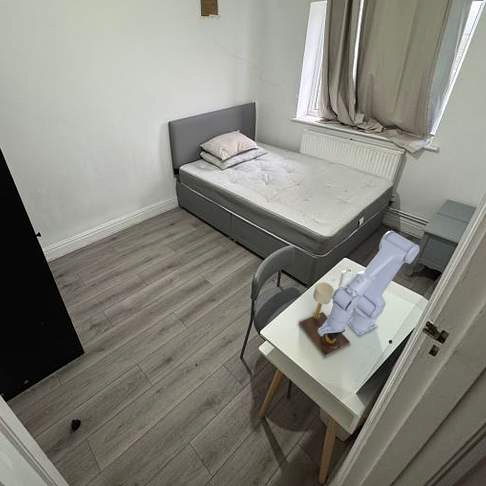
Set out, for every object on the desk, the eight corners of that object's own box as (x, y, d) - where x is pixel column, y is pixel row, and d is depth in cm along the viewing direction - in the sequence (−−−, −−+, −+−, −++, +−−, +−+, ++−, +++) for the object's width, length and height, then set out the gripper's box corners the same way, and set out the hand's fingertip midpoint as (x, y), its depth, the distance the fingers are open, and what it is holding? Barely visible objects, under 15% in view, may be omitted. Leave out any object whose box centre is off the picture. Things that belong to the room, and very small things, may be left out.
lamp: (317, 306, 120) (325, 279, 110) (328, 319, 115) (337, 291, 105) (304, 312, 118) (312, 285, 108) (315, 325, 113) (324, 297, 103)
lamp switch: (329, 334, 111) (330, 331, 110) (336, 342, 108) (337, 339, 107) (322, 338, 110) (323, 335, 109) (329, 346, 107) (330, 343, 106)
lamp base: (321, 313, 121) (323, 308, 119) (349, 344, 110) (351, 339, 108) (298, 324, 117) (300, 319, 115) (324, 357, 106) (326, 352, 104)
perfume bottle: (337, 287, 132) (345, 264, 124) (346, 292, 130) (355, 268, 121) (333, 293, 129) (341, 270, 121) (343, 298, 127) (352, 275, 118)
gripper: (346, 299, 105) (337, 322, 113) (314, 314, 101) (308, 336, 108) (361, 314, 100) (351, 337, 108) (329, 330, 95) (321, 352, 103)
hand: (330, 337), depth 108 cm, fingers closed, pressing on lamp switch
